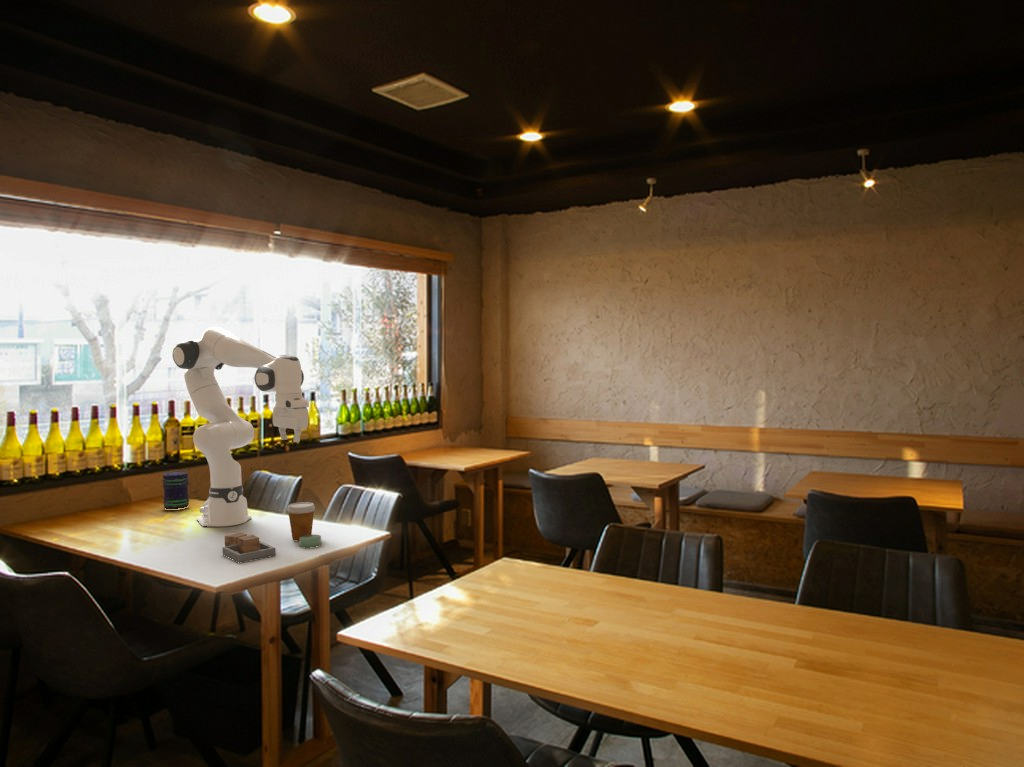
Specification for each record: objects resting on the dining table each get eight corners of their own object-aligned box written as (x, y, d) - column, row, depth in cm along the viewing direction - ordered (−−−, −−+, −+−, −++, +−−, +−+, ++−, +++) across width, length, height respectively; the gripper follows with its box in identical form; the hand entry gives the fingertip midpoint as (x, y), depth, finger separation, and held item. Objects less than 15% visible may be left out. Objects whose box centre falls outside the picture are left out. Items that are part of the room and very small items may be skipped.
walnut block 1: (225, 550, 245) (224, 535, 245) (236, 546, 249) (236, 532, 249) (235, 552, 243) (235, 537, 242) (247, 548, 247) (247, 533, 247)
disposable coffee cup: (319, 535, 263) (319, 502, 262) (310, 542, 253) (309, 508, 253) (294, 535, 264) (293, 501, 263) (283, 542, 254) (282, 507, 254)
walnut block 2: (238, 552, 239) (237, 537, 238) (253, 549, 242) (252, 534, 242) (244, 555, 235) (244, 540, 235) (259, 552, 238) (259, 537, 238)
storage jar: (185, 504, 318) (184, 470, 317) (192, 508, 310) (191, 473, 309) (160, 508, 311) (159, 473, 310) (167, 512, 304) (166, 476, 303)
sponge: (296, 545, 250) (296, 536, 250) (315, 542, 255) (315, 533, 255) (304, 549, 245) (304, 540, 245) (324, 546, 249) (324, 537, 249)
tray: (222, 554, 239) (222, 547, 239) (258, 547, 247) (258, 540, 247) (238, 563, 230) (238, 555, 230) (275, 555, 238) (275, 547, 238)
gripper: (267, 400, 265) (268, 439, 265) (294, 403, 250) (295, 444, 250) (284, 399, 269) (285, 437, 270) (311, 402, 254) (312, 442, 255)
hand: (290, 440), depth 260 cm, fingers open, 8 cm apart
